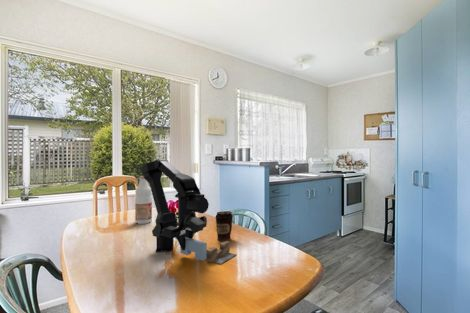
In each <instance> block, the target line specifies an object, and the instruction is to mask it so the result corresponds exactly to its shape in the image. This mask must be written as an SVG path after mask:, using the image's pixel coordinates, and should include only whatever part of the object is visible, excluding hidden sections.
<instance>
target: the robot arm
mask: <svg viewBox="0 0 470 313" xmlns="http://www.w3.org/2000/svg"><path fill="white" fill-rule="evenodd" d="M140 171H141V174H142V176H143V177H144V179H145V180H146V181H147V182H148V185H149V186H150V188H151V196H152V198H153V201H154V206H155V209H156V216H155V226H154V227H153V229H152V230H151V233H152V236H153V237H155V238H156V241H155V242H156V243H155V244H156V249H155V252H156V253H158V252H169V251H173V248H174V246H175V244H174V239H176V240H177V242H178V244H179V246H181V248H182V250H185V238H186V237H188V238H192V239H194V236H195V234H196V233H199V232H200V231H204V228H206V227H207V226H208V220H207V216H206V215H202V216H199V217H197V215H196V214H197V213H198V214H205V213H206V212H207V211H208V209H209V206H210V204H209V200H208V199H207V198H206V197H205V193H204V194H202V193H201V191H200V189H199V186H198V185H197V182H196V179H194V177H192V176H190V175H188V174H184V173H182V172H181V171H179V170H178V169H177V168H176V167H175V166H173V165H172V164H171V163H170V162H169V160H168V159H166V158H157V159H155V160H152V161H150V162H147V163H144V164H143V165H141V168H140ZM163 175H164V176H166V177H167V178H168V179H169V180H170V181H171V182H172V187H173V188H174V189H175V191H176V192H177V193H176V194H175V195H174V198H177V211H176V212H175V211H171V210H170V209H169V204H168V201H167V199H166V194H165V192H164V187H163V185H162V181H161V180H162V176H163ZM177 217H178V218H177Z"/></svg>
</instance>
